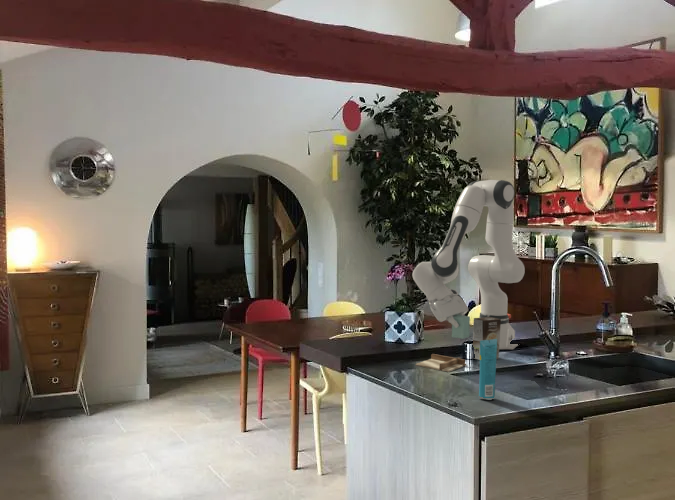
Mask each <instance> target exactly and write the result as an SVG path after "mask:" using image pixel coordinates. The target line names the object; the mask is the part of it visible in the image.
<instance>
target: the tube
mask: <svg viewBox="0 0 675 500" xmlns="http://www.w3.org/2000/svg"><path fill="white" fill-rule="evenodd" d="M496 355H497V339H491V340H482V341H480V360H479V383H478V386H479V387H478V388H479V389H478V397H479V396H480V397H483V398H494V397H495V396H496V395H495V394H496V376H497V375H496V371H497V359H496ZM495 398H496V397H495Z"/></svg>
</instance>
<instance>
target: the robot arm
mask: <svg viewBox="0 0 675 500" xmlns="http://www.w3.org/2000/svg"><path fill="white" fill-rule="evenodd" d="M514 199H515V188H514V186H513V184H512V183H511V182H510V181H507V180H503V179H499V180H498V179H486V180H474V181H472V182H469V184H468V185H467V186H466V187H464V189H463V190H462V191H461V193H460V195H459V197H458V199H457V201H456V203H455V206H454V209H453V212H452V216H451V220H450V226H449V229H448V232H447V233H446V236H445V239H444V241H443V243H442V246H441V247H440V248H439V249H438V250H437V252H435V254H434V255H433V256H432V258H431V261H421V262H420V263H418V264H417V265H416V266H415V267H414V268H413V271H412V275H411V276H412V278H413V281H414V283H415V284H416V285H417V287H418V288H419V290H420V291H422V292H423V293H424V295H425V296H426V299H427V300H428V301H429V308H430V310H431V312H432V314H433V315H434V317H435V318H436V320H437V321H438V322H440V323H442V322H444V321H448V323H450V324H451V326H452V325H454V327H455V328H457V327H459V326H460V324H459V322H457V321H456V320H454V319H453V316H457V315H462V316H466V315H465V314H467V312H469V307H468V305H467V304H466V302H465V301H464V300H463V298H462V297H461V296H460V295H459V292H458V291H457V290H456V289H451V288H450V287H447V286H446V285H447V284H449V283H451V282H453V281H454V280H456V279H457V277H458V276H459V274H460V270H459V269H460V268H459V264H458V252H459V249H460V247H461V244H462V242H463V239H464V237H465V235H466V234H467V233H470V232H472V231H474V230H475V229H476V227H477V225H478V224H479V221H480V219H481V217H482V214H483V210H484V207H487V208H488V212H487V217H486V228H485V239H484V240H485V242H486V243H487V245H488V246H490V247H491V248H492V250H493V252H494V253H493V254H494V255H490V254H489V255H488V254H479V255H475V256H472V257H471V259H470V260H469V262H468V265H467V266H468V267H467V269H468V273H469V275H470V276H471V278H473V279H474V280H475V282H476V284H477V286H478V289H479V292H480V312H479V316H478V318H483V317H492V318H498V319H501V325H500V342H499V350H515V348H516V347H518V346H519V345H518V344H510V342H511V341H512V339H514V338H515V339H516V330H515V329H514V328H513V327H512V326H511V324H510V321H509V320H510V319H511V318H512V314H511V313H508V295H507V293H506V292H504V291H503V290H502V289H501V287H500V285H499V283H502V284H504V283H505V284H513V283H514V284H515V283H519V282H521V280H523V278H524V276H525V270H526V269H525V264H524V262H523V261H522V260H521V259H520V258H519V257H518V256H517V254H516V252H515V248H514V246H513V231H514V228H513V227H514V206H513V201H514Z"/></svg>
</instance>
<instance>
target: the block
mask: <svg viewBox="0 0 675 500" xmlns="http://www.w3.org/2000/svg"><path fill="white" fill-rule="evenodd" d="M453 319H454V320H456V321H457V322H459V324H460V326H459V327H457V328H455V327H454V325H452V324H451V338H454V339H455V338H456V339H462V340H463V339H466V338H469V337H470V326H471V325H470V324H471V322H470V321H471V317H470V316H468V315H465V316H462V315H457V316H453Z"/></svg>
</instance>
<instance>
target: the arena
mask: <svg viewBox="0 0 675 500" xmlns="http://www.w3.org/2000/svg"><path fill="white" fill-rule="evenodd" d="M415 366H417V367H421V368H427V369H432V370H436V371H440V372H447V373H449V372H452V371H455V370H457V369H460V368H463V367H465V366H467V363H466V359H465V358H464V359H462V358H461V357H453V356H447V355H441V354H435V353H432V354H431V355H430V358H429V359H427V360H423V361H421V362H418V363H416V364H415Z"/></svg>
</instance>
